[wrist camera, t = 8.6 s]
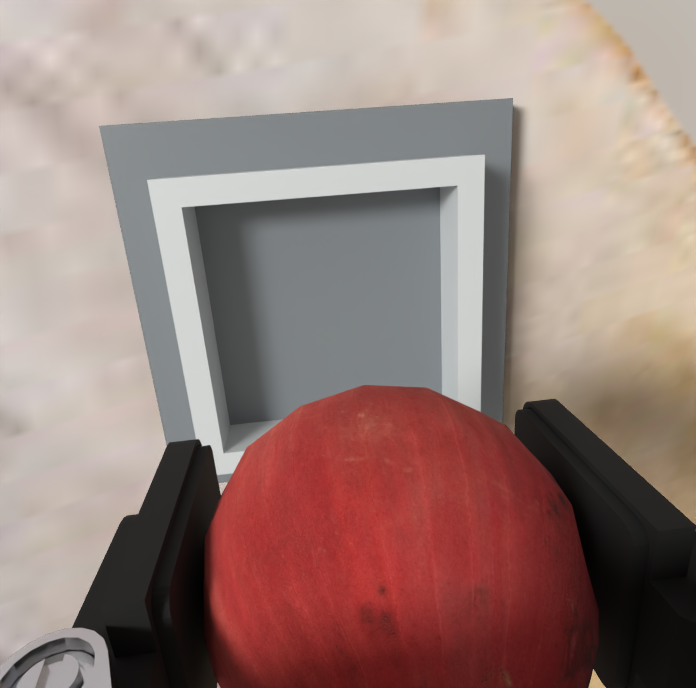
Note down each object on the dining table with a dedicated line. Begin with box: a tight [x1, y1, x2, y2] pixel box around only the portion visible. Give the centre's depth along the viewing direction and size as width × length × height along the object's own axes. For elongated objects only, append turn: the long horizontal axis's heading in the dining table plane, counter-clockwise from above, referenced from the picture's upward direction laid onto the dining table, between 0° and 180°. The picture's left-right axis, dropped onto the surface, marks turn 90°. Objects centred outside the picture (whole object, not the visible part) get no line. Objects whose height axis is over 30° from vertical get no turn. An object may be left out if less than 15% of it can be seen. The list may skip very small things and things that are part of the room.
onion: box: [203, 385, 599, 688], centre depth 8 cm, size 6×6×8 cm
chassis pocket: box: [99, 98, 513, 483], centre depth 22 cm, size 16×16×4 cm
